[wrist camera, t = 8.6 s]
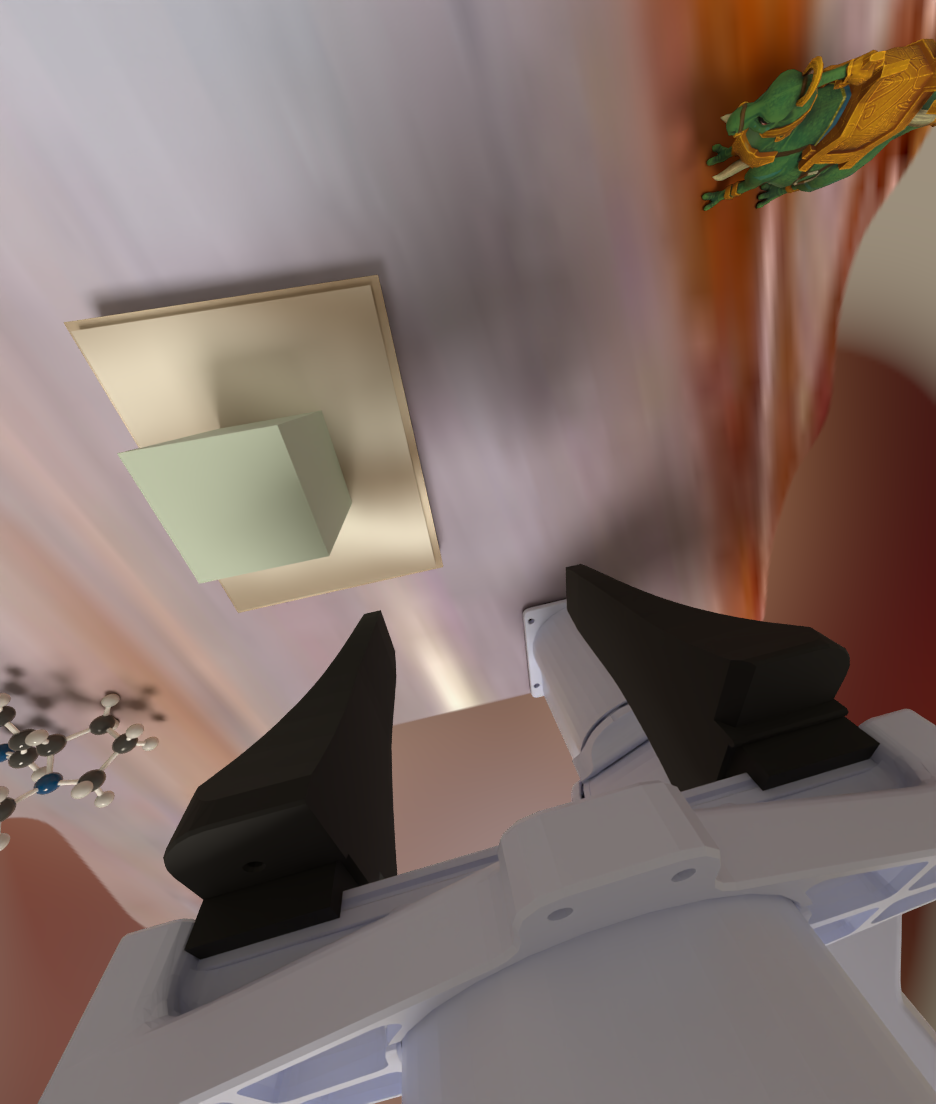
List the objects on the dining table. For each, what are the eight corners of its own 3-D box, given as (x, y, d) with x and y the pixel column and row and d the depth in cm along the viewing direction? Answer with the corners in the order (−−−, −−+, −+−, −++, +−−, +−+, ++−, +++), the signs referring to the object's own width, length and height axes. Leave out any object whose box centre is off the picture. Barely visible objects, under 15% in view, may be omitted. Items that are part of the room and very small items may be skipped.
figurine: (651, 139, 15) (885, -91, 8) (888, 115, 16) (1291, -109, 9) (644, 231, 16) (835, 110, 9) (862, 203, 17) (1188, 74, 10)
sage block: (352, 502, 17) (329, 555, 12) (263, 520, 17) (199, 583, 11) (321, 410, 15) (277, 425, 10) (220, 428, 15) (117, 453, 9)
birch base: (440, 552, 22) (444, 571, 20) (252, 593, 21) (234, 618, 19) (381, 287, 15) (377, 270, 13) (105, 329, 15) (51, 320, 12)
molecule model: (-20, 639, 22) (-236, 779, 16) (141, 692, 21) (-29, 863, 15) (50, 683, 26) (-101, 806, 20) (187, 729, 25) (69, 873, 19)
